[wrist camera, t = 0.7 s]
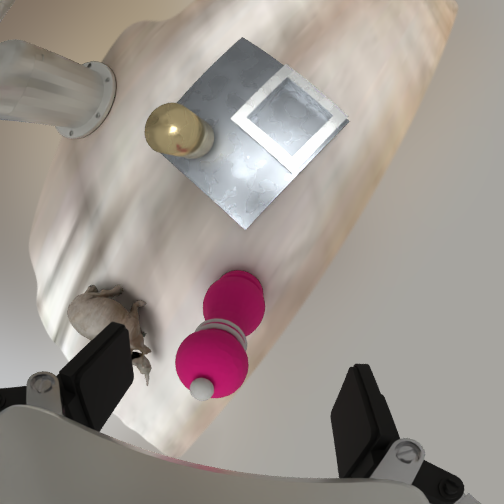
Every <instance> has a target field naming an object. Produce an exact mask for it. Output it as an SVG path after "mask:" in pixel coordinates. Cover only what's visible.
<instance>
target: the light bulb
mask: <svg viewBox="0 0 504 504" xmlns="http://www.w3.org/2000/svg"><path fill="white" fill-rule="evenodd" d="M145 138H146V141H147V143H148V144H149V146H150V147H151V148H152V149H153V150H155V151H157V152H159V153H164V154H169V155H174V156H179V157H184V158H188V159H197V158H200V157H202V156H204V155H205V154H206V153H208V151H209V150H210V149H211V147H212V145H213V142H214V133H213V130H212V128H211V126H210V125H209V124H208V123H207V122H206V121H204V120H203V119H201V118H200V117H199V116H197V115H196V114H195V113H193V112H192V111H190V110H189V109H187V108H186V107H185V106H183V105H181V104H178V103H167V104H164V105H161V106H159V107H158V108H156V109H155V110H154V111H153V112H152V113H151V115H150V116H149V118H148V120H147V122H146V125H145Z"/></svg>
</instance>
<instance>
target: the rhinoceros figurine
mask: <svg viewBox="0 0 504 504" xmlns="http://www.w3.org/2000/svg"><path fill="white" fill-rule="evenodd" d="M123 291H124V290H123V288H122V286H121V285H117V286H115V287H114V288H113V289H112V290H104V289H102V290H101V292H100V293H97V292H98V290H97V288H96V287H95V285H92V286H91V285H90V287H88V289H87V291H86V292H85V293H84V294H81V295H78V296H77V297H76V298H75V299H74V300H73V302H72V303H71V304H70V305H69V307H68V311H67V314H68V318H69V321H70V322H71V324H72V326H73V327H74V328H75V329H76V330H77V332H78V333H80V334H81V335H82V336H84V337H86V338H88V339H90V340H93V339H94V338H95V337H96V336H97V335H98V334H99V333H100V332H101V331H102V330H103V329H104V328H105V327H106V326H107V325H109V324H110V323H111V322H117V323H120V324H124V325H125V327H126V329H128V331H129V339H130V349H131V358H132V365H135V366H137V368H138V369H139V371H140V373H141V374H145V378H146V382H147V386H148V382H149V372H150V370H151V365H150V362H149V360H148V359H147V358H146V357H145V356H144V354H148V353H150V352H151V350H150V349H149V348H148V347H146V346H145V345H144V338H143V337H145V334H146V333H145V334H144V332H143V333H141V328H140V324H139V321H138V318H139V315H138V311H137V309H138V307H144V306H145V305H146V302H144V301H142V300H141V301H140V300H138V301H137V302H134V303H133V305H132V308H131V310H130V311H129V312H128V311H127V310H126V309H125V308H124V307H123V306H122V305H121V304H120V303H118V302H117V301H115V300H113V299H111V298H112V297H114V296H119V295H120V294H122V292H123ZM133 350H140V351H141V352H142V353H138V352H132V351H133Z"/></svg>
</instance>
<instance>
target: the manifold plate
mask: <svg viewBox="0 0 504 504" xmlns="http://www.w3.org/2000/svg"><path fill="white" fill-rule="evenodd" d="M177 103H178V104H181V105H183V106H185V107H186V108H187V109H189V110H190V111H192V112H193V113H195V114H196V115H197V116H199V117H200V118H201V119H203V120H204V121H206V122H207V123H208V124H209V125H210V126H211V128H212V130H213V133H214V142H213V145H212V147H211V149H210V150H209V151H208V153H206V154H205V155H204V156H202V157H200V158H197V159H188V158H184V157H179V156H174V155H169V154H164V153H161V154H162V155H163V156H164V157H165V158H167V159H168V160H169V161H170V162H171V163H172V164H173V165H174V166H175V167H177V168H178V169H179V170H180V171H181V172H182V173H183V174H184V175H185V176H187V177H188V178H189V179H190V180H191V181H192V182H193V183H194V184H195V185H197V186H198V187H199V188H200V189H201V190H202V191H203V192H204V193H205V194H206V195H208V196H209V197H210V198H211V199H212V200H213V201H214V202H215V203H216V204H217V205H219V206H220V207H221V208H222V209H223V210H224V211H225V212H226V213H227V214H228V215H229V216H231V217H232V218H233V219H234V220H235V221H236V222H237V223H238V224H239V225H240V226H241V227H243V228H244V229H245V230H246V229H247V228H248V227H249V226H250V225H251V223H252V222H253V221H254V220H255V219H256V218H257V217H258V216H259V215H260V214H261V213H262V212H263V211H264V210H265V208H266V207H267V206H268V205H269V204H270V203H271V202H272V201H273V200H274V199H275V198H276V197H277V196H278V195H279V194H280V193H281V192H282V190H283V189H284V188H285V187H286V186H287V185H288V184H289V183H290V182H291V181H292V180H293V179H294V178H295V177H296V176H297V175H298V174H299V173H300V172H301V171H302V170H303V169H304V167H305V166H306V165H307V164H308V163H309V162H310V161H311V160H312V159H313V158H314V157H315V156H316V155H317V154H318V153H319V152H320V151H321V150H322V149H323V148H324V147H325V146H326V145H327V144H328V143H329V142H330V141H331V140H332V139H333V138H334V137H335V135H336V134H337V133H338V132H339V131H340V130H341V129H342V128H343V127H344V126H345V125H346V124H347V123H348V122H349V120H348V119H347V117H348V116H347V115H346V114H345V113H344V112H343V111H342V110H341V109H340V108H339V107H338V106H337V105H336V104H334V103H333V102H332V101H331V100H330V99H329V98H328V97H326V96H325V95H324V94H323V93H322V92H321V91H320V90H318V89H317V88H316V87H315V86H314V85H312V84H311V83H310V82H309V81H307V80H306V79H305V78H304V77H302V76H301V75H300V74H299V73H297V72H296V71H295V70H293V69H292V68H291V67H289V66H288V65H287V64H285V65H282V64H281V63H280V62H278V61H277V60H276V59H274V58H273V57H271V56H270V55H269V54H267V53H266V52H264V51H263V50H261V49H260V48H258V47H257V46H255V45H254V44H252V43H251V42H249V41H248V40H246V39H245V38H243V37H242V38H241V39H240V40H239V41H237V42H236V43H235V44H234V45H233V46H232V47H231V48H230V49H229V50H228V51H226V52H225V53H224V54H223V55H222V56H221V57H220V58H219V59H218V60H217V61H216V62H215V63H214V64H213V65H212V66H211V67H210V68H209V69H208V70H207V71H206V72H205V73H204V74H203V75H202V76H201V77H200V78H199V79H198V80H197V81H196V82H195V83H194V84H193V86H192V87H191V88H190V89H189V90H188V91H187V92H186V93H185V94H184V95H183V97H182V98H181V99H180V100H179V101H178V102H177Z"/></svg>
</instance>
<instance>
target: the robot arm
mask: <svg viewBox="0 0 504 504" xmlns="http://www.w3.org/2000/svg"><path fill="white" fill-rule="evenodd" d="M14 1H15V0H0V22H1V20H2V19H3V17H4V16H5V14H6V13H7V11H8V10H9V9H10V7H11V6H12V4H13V3H14ZM115 90H116V82H115V77H114V74H113V72H112V70H111V69H110V68H109V67H108V66H107V65H105V64H103V63H101V62H96V61H91V62H87V63H84V64H82V65H81V64H79V63H76V62H74V61H72V60H70V59H67V58H65V57H63V56H60V55H58V54H56V53H53V52H51V51H48V50H46V49H43V48H41V47H38V46H36V45H33V44H30V43H28V42H26V41H22V40H8V41H4V42H1V43H0V120H11V121H21V122H29V123H38V124H45V125H52V126H55V127H56V129H57V131H58V132H59V133H60V134H61V135H62V136H64V137H66V138H71V139H78V138H82V137H85V136H87V135H89V134H90V133H91V132H93V131H94V130H95V129H96V128H97V127H98V126H99V125H100V124H101V123H102V122H103V120H104V119H105V118H106V116H107V114H108V112H109V110H110V108H111V106H112V103H113V100H114V96H115ZM133 379H134V373H133V366H132V358H131V349H130V339H129V331H128V329H126V327H125V325H124V324H120V323H117V322H111V323H110V324H109V325H107V326H106V327H105V328H104V329H103V330H102V331H101V332H100V333H99V334H98V335H97V336H96V337H95V338H94V339H93V340H91V341H90V342H89V343H88V344H87V345H86V346H85V347H84V348H83V349H82V350H81V351H80V352H79V353H78V354H77V355H76V356H75V357H74V358H73V359H72V360H71V361H70V362H69V363H68V364H67V365H66V366H65V367H64V368H62V370H60V371H59V374H58V375H57V376H55V375H54V374H52V373H50V372H43V371H42V372H37V373H35V374H33V375H32V376H30V377H29V379H28V381H27V386H22V387H12V388H1V389H0V504H481V503H480V502H478V501H477V500H476V499H475V498H474V497H473V496H471V495H470V494H469V493H468V494H467V495H465V494H464V485H463V482H462V481H461V479H460V478H458V477H457V476H455V475H453V474H451V473H449V472H447V471H445V470H443V469H441V468H439V467H437V466H435V465H433V464H431V463H429V462H427V461H425V460H424V457H425V451H424V449H423V447H422V446H421V445H420V443H418V442H417V441H415V440H412V439H408V438H403V439H400V437H399V434H398V431H397V429H396V426H395V424H394V421H393V418H392V415H391V413H390V410H389V408H388V405H387V403H386V400H385V397H384V396H383V395H382V394H381V393H380V391H379V388H378V386H377V383H376V380H375V378H374V376H373V373H372V371H371V369H370V366H369V365H368V364H355V365H354V367H350V368H349V370H348V373H347V375H346V378H345V381H344V383H343V385H342V388H341V390H340V392H339V395H338V398H337V400H336V402H335V404H334V406H333V409H332V411H331V423H332V429H333V436H334V443H335V450H336V457H337V464H338V473H339V478H330V479H329V478H328V479H327V478H294V477H279V476H268V475H258V474H251V473H243V472H237V471H231V470H225V469H219V468H214V467H209V466H204V465H200V464H195V463H191V462H187V461H183V460H179V459H175V458H172V457H168V456H165V455H161V454H158V453H155V452H152V451H148V450H145V449H142V448H140V447H136V446H133V445H131V444H128V443H126V442H123V441H120V440H118V439H115V438H113V437H110V436H108V435H105V434H103V433H100V432H99V431H100V430H101V429H102V427H103V426H104V424H105V423H106V421H107V419H108V418H109V417H110V415H111V414H112V412H113V411H114V409H115V408H116V406H117V405H118V403H119V402H120V400H121V399H122V397H123V396H124V394H125V393H126V391H127V390H128V388H129V387H130V385H131V384H132V382H133Z"/></svg>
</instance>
